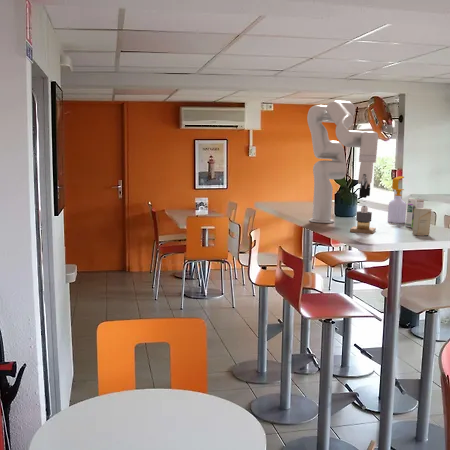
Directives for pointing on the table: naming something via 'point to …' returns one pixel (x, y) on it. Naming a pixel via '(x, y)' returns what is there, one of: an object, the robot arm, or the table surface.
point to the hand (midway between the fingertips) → (364, 196)
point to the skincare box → (421, 221)
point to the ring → (363, 216)
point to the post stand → (363, 224)
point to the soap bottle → (397, 205)
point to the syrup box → (412, 210)
